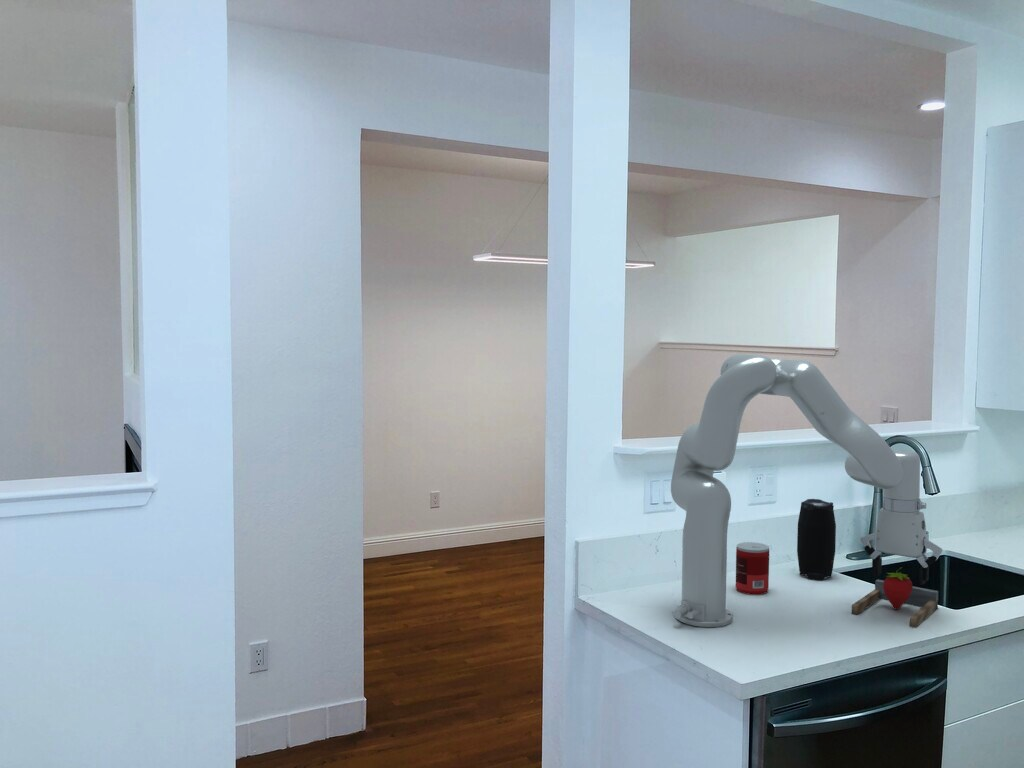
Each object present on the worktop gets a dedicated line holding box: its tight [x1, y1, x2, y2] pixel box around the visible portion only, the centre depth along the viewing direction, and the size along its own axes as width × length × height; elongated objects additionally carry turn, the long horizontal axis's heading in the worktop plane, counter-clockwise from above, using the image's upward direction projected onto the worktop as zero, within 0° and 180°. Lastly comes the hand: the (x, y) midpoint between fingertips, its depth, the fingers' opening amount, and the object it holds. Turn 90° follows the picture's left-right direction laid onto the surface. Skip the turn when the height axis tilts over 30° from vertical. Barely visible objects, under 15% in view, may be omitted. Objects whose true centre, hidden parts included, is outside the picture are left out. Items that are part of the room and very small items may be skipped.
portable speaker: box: [796, 498, 837, 581], centre depth 214 cm, size 9×9×20 cm
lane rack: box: [851, 579, 939, 629], centre depth 187 cm, size 17×13×4 cm
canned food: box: [735, 541, 770, 596], centre depth 202 cm, size 8×8×11 cm
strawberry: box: [883, 567, 913, 610], centre depth 188 cm, size 6×8×10 cm
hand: (899, 579), depth 188 cm, fingers open, 9 cm apart
